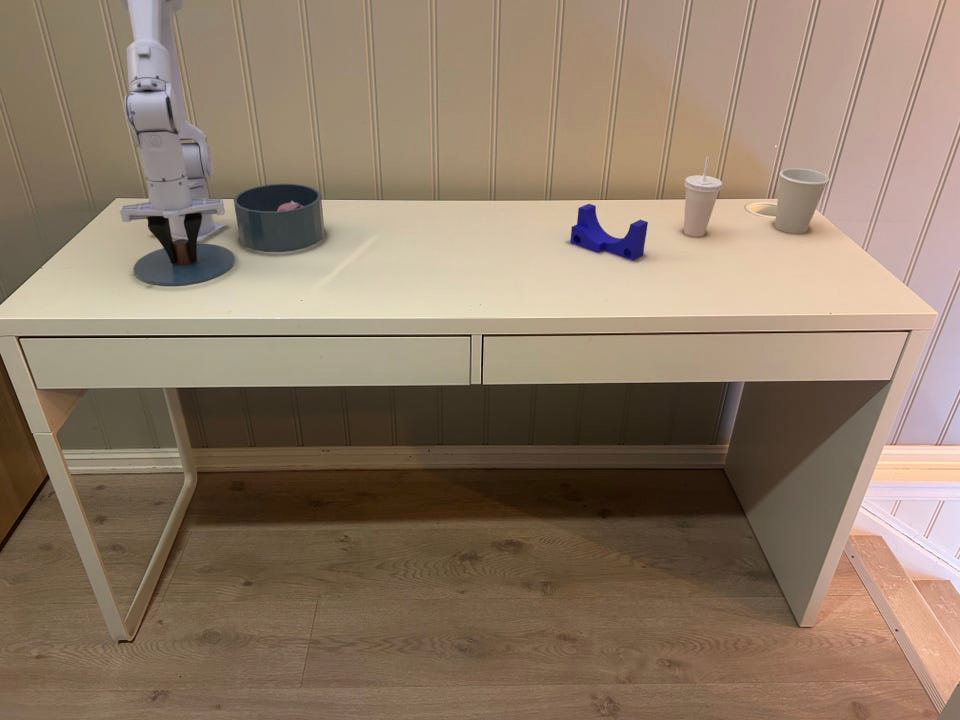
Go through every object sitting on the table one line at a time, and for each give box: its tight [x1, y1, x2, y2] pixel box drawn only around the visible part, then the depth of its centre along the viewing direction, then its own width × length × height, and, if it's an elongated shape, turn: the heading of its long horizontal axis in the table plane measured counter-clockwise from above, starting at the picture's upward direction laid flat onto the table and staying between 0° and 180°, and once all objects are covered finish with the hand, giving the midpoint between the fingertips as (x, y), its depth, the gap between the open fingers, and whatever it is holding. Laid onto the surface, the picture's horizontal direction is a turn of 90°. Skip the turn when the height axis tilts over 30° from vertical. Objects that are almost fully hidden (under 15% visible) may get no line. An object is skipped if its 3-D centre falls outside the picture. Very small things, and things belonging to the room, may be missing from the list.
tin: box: [233, 183, 326, 253], centre depth 125 cm, size 14×14×7 cm
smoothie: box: [683, 156, 723, 238], centre depth 129 cm, size 6×6×14 cm
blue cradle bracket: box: [569, 203, 649, 261], centre depth 124 cm, size 12×4×6 cm, turn 47°
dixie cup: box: [774, 167, 830, 234], centre depth 133 cm, size 8×8×10 cm
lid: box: [133, 238, 236, 287], centre depth 115 cm, size 15×15×4 cm
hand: (184, 260), depth 115 cm, fingers closed on lid, 2 cm apart
